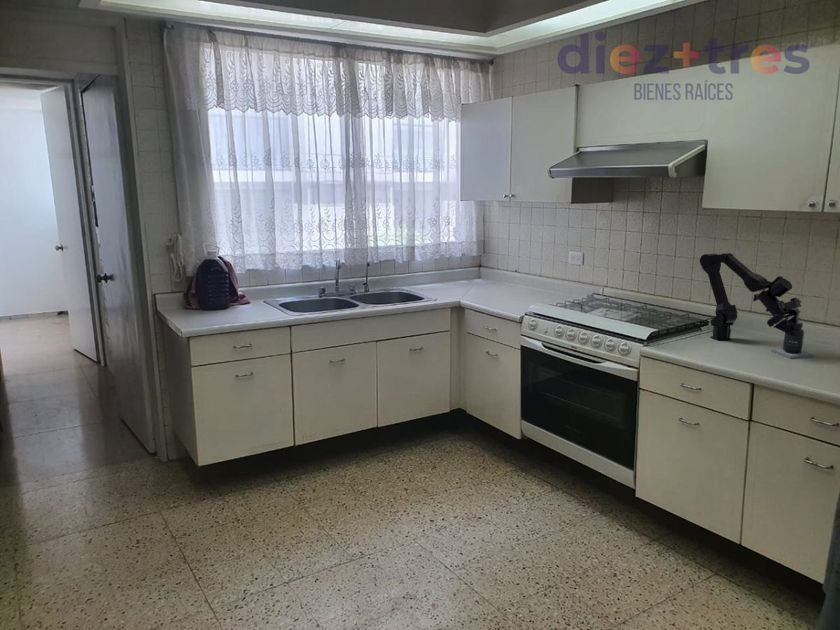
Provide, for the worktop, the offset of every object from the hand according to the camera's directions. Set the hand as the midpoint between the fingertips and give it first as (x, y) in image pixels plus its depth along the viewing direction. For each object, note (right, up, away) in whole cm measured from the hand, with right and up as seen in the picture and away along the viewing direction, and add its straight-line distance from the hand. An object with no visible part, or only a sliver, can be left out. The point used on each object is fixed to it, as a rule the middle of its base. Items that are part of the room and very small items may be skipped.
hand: (797, 334), depth 251 cm
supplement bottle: (-1, -7, +3) cm, 8 cm away
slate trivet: (-1, -8, +3) cm, 9 cm away
